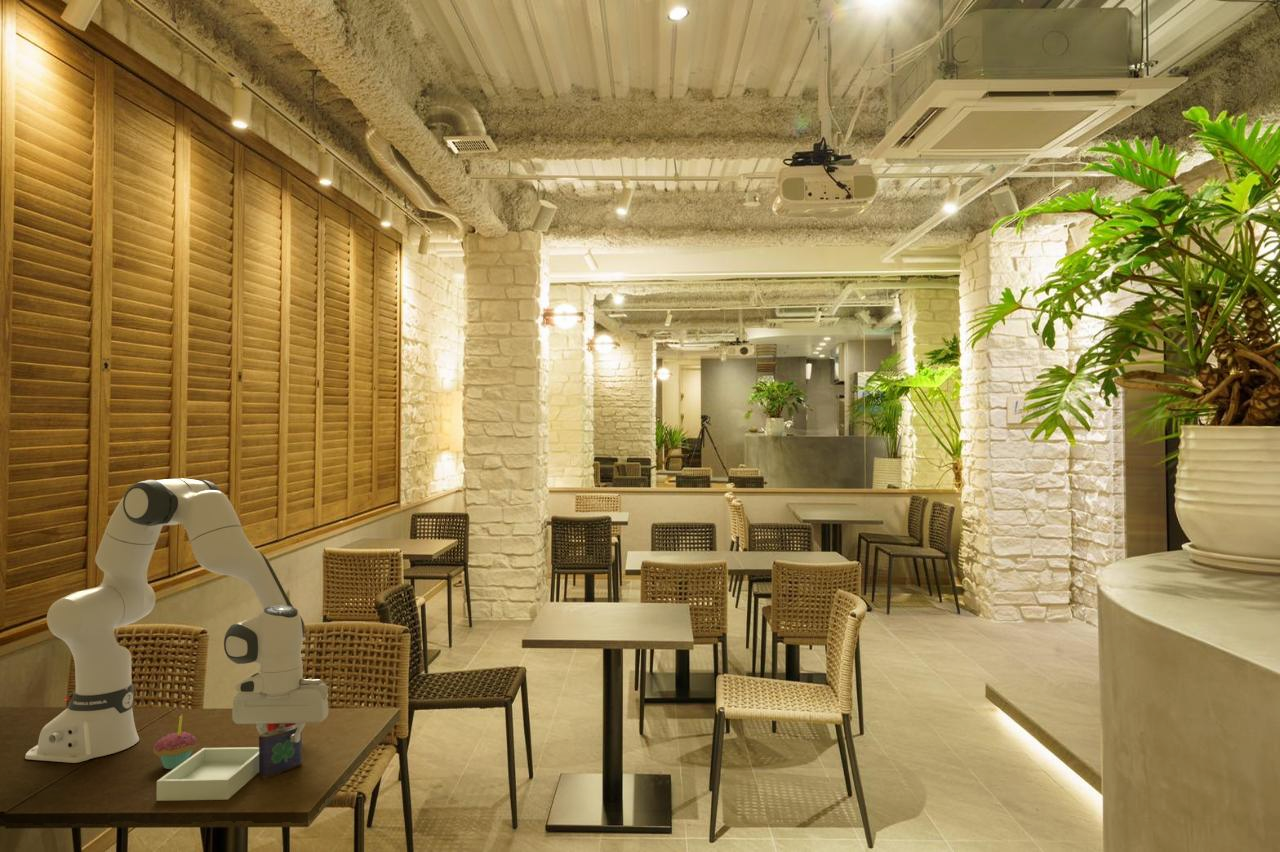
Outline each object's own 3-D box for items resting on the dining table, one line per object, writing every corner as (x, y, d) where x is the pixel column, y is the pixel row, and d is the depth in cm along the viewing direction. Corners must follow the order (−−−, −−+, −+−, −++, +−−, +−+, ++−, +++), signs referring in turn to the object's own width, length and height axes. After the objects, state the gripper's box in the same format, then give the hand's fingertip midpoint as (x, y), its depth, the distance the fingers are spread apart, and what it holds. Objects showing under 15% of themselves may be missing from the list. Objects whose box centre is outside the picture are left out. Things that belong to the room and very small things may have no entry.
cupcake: (205, 759, 173) (205, 707, 174) (172, 775, 165) (172, 720, 166) (178, 755, 176) (178, 704, 176) (143, 770, 168) (144, 716, 168)
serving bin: (156, 800, 153) (156, 781, 154) (203, 765, 170) (203, 748, 170) (227, 799, 154) (227, 779, 154) (267, 764, 170) (267, 746, 170)
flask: (299, 762, 171) (299, 715, 172) (304, 765, 169) (304, 718, 170) (257, 776, 164) (256, 727, 165) (262, 780, 163) (262, 730, 163)
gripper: (333, 674, 171) (333, 735, 170) (243, 675, 171) (243, 736, 170) (321, 683, 164) (321, 747, 164) (228, 684, 164) (228, 748, 164)
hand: (281, 741), depth 167 cm, fingers open, 5 cm apart
